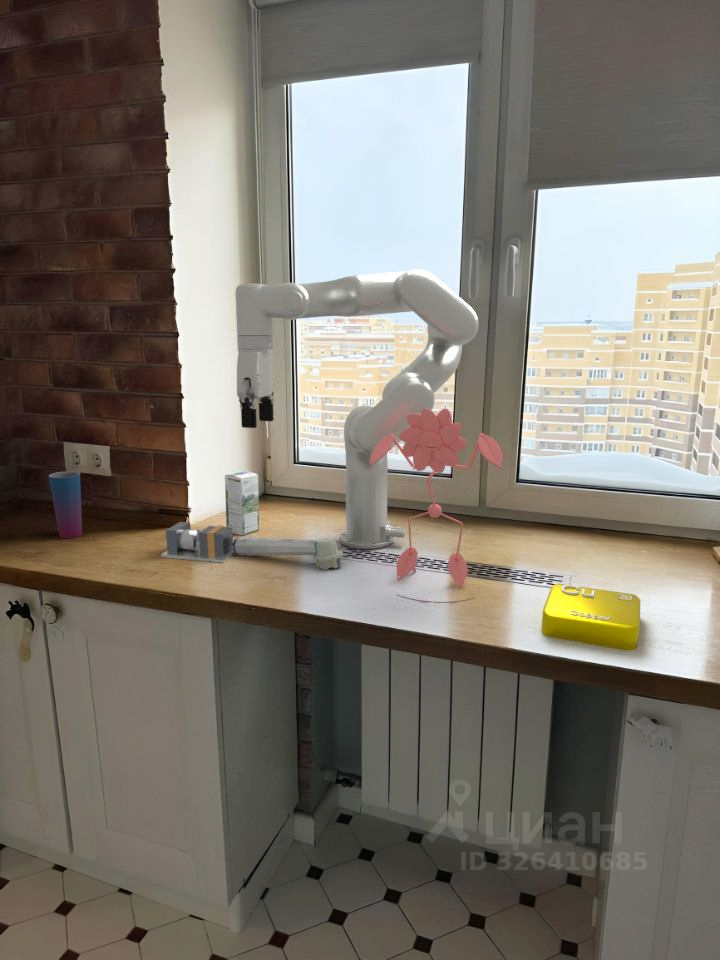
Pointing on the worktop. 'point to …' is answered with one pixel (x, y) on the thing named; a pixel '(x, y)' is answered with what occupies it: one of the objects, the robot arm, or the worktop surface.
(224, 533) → the coupling block
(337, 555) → the grey connecting link
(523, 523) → the worktop surface
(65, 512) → the cup
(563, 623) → the element tile
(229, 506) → the syrup box
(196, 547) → the shaft mount
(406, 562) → the pink flower doll
